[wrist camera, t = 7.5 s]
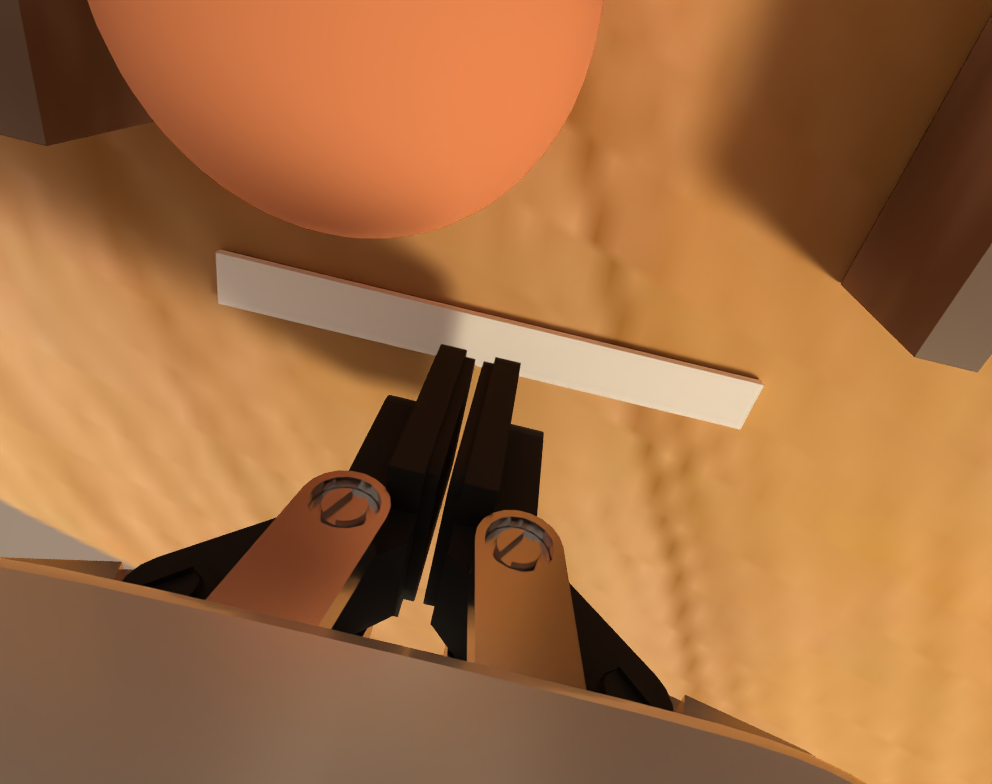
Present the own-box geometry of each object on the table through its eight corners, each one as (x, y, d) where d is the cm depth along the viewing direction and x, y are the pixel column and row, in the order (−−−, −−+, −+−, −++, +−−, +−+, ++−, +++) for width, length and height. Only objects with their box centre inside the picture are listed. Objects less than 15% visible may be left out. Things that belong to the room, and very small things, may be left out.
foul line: (219, 249, 13) (215, 252, 13) (761, 380, 13) (763, 385, 13) (222, 300, 13) (218, 303, 13) (738, 424, 14) (740, 429, 13)
